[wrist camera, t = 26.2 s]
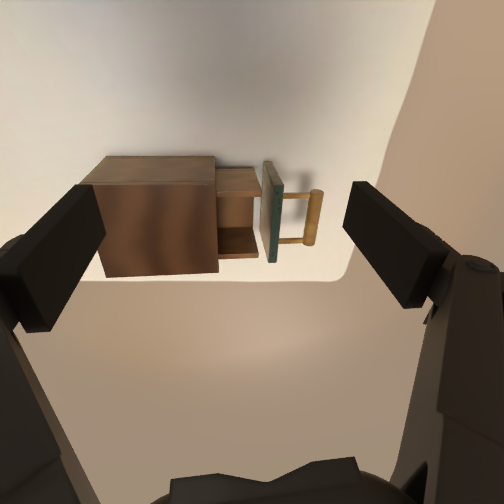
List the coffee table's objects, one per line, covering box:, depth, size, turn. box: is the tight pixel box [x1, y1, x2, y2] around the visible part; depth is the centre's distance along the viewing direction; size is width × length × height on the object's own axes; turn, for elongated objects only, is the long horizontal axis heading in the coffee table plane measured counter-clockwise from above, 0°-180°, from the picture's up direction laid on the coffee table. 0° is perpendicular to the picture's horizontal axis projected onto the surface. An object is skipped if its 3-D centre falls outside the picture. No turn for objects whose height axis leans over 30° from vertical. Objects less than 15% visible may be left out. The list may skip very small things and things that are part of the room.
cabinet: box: [79, 156, 219, 278], centre depth 40 cm, size 15×13×11 cm
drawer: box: [215, 162, 324, 263], centre depth 42 cm, size 20×12×9 cm, turn 88°
